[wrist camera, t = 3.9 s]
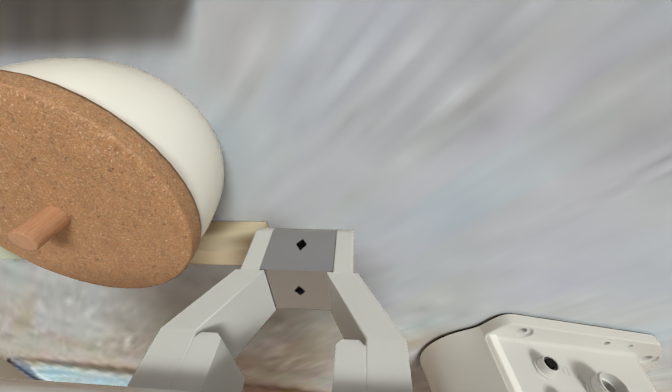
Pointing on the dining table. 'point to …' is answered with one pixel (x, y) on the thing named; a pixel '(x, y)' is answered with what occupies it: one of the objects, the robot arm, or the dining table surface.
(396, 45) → the dining table surface
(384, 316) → the robot arm
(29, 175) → the lidded jar
